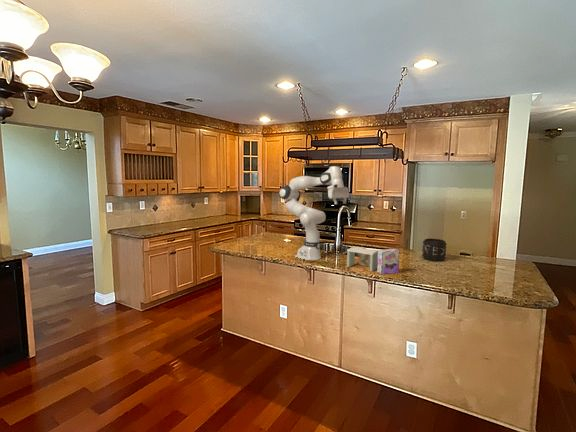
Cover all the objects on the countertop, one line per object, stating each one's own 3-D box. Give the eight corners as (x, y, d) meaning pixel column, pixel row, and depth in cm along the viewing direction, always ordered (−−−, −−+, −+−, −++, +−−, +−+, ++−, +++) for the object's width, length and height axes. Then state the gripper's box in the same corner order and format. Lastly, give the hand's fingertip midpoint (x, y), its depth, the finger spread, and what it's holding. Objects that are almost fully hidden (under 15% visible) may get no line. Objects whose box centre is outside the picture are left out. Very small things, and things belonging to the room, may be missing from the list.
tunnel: (346, 266, 254) (347, 249, 252) (352, 263, 262) (353, 247, 260) (372, 271, 242) (372, 253, 241) (377, 268, 250) (378, 250, 249)
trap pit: (350, 269, 248) (350, 268, 248) (351, 268, 250) (351, 267, 250) (363, 271, 242) (363, 271, 242) (364, 270, 244) (364, 270, 244)
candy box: (381, 274, 235) (382, 251, 233) (376, 272, 241) (377, 249, 239) (398, 273, 239) (399, 250, 237) (394, 270, 244) (395, 248, 242)
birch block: (359, 264, 260) (359, 254, 259) (364, 262, 268) (364, 252, 267) (371, 267, 254) (371, 256, 253) (376, 264, 262) (376, 254, 261)
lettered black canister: (420, 260, 274) (421, 241, 271) (422, 255, 289) (424, 237, 287) (444, 263, 265) (446, 243, 263) (446, 258, 281) (447, 239, 279)
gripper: (344, 186, 271) (346, 204, 270) (325, 187, 258) (328, 205, 257) (349, 185, 266) (352, 202, 265) (331, 185, 253) (334, 203, 252)
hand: (340, 203), depth 261 cm, fingers open, 8 cm apart
